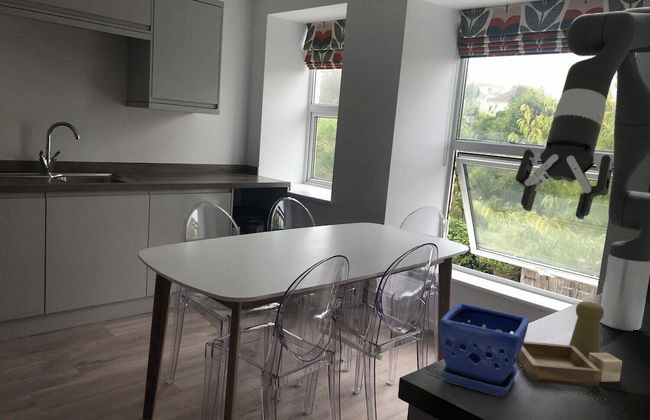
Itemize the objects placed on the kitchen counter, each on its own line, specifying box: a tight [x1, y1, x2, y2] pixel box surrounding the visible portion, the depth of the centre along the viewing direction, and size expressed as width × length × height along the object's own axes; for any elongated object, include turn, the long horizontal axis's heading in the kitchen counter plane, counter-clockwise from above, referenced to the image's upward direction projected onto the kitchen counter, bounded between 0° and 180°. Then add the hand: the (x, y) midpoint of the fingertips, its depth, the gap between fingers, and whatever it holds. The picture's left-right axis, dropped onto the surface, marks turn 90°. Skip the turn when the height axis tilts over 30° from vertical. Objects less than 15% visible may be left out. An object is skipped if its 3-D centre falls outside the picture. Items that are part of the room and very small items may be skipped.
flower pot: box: [439, 303, 530, 397], centre depth 96 cm, size 13×13×12 cm
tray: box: [516, 340, 601, 388], centre depth 104 cm, size 12×12×3 cm
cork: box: [568, 301, 604, 359], centre depth 113 cm, size 6×6×11 cm
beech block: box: [588, 352, 623, 383], centre depth 103 cm, size 4×4×4 cm
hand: (551, 213), depth 89 cm, fingers open, 8 cm apart
